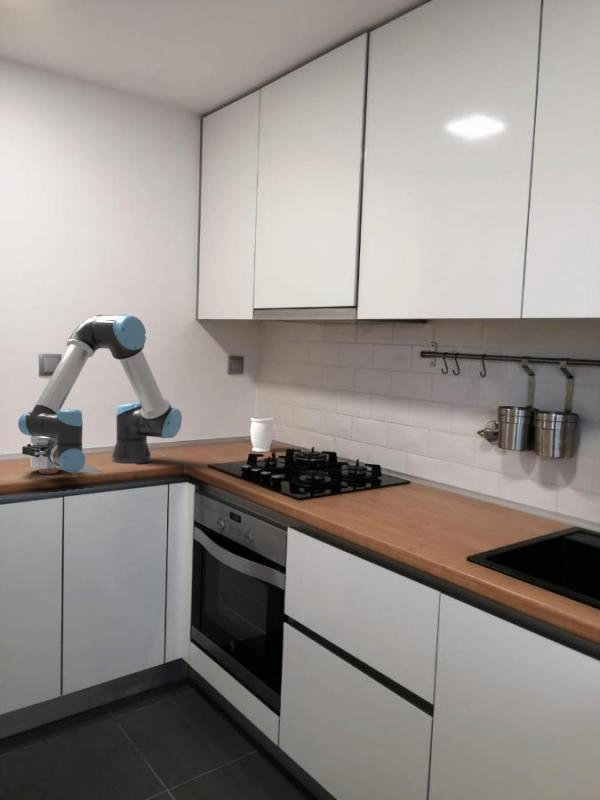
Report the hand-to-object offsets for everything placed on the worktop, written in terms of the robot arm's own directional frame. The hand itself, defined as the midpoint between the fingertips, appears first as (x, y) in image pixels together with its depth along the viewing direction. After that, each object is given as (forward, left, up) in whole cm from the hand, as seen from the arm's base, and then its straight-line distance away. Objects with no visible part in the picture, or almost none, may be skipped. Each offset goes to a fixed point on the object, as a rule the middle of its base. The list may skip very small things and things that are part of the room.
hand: (45, 445), depth 225 cm
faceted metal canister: (0, +4, -7) cm, 8 cm away
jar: (-96, -10, -9) cm, 97 cm away
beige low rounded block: (0, +4, -9) cm, 10 cm away
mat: (-11, +4, -9) cm, 15 cm away
